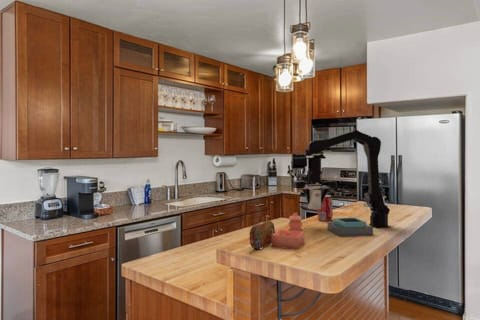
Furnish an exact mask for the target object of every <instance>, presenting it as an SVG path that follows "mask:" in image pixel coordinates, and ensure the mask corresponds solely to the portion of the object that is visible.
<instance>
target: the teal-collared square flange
mask: <svg viewBox="0 0 480 320" xmlns="http://www.w3.org/2000/svg"><path fill="white" fill-rule="evenodd" d="M327 230H328V231H329V232H332V233H333V234H335V235H336V236H339V237H359V236H373V235H374V227H373V226H371V225H368V224H367V221H364V220H362V219H360V218H357V217H338V218H337V217H335V218H333V222H332V221H331V222H327Z"/></svg>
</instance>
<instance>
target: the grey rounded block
mask: <svg viewBox="0 0 480 320" xmlns="http://www.w3.org/2000/svg"><path fill="white" fill-rule="evenodd" d="M309 190H310V202H309V204H308V203H307V205H308V207H307V208H308V209H309V210H318V209H321V190H320V189H309Z"/></svg>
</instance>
